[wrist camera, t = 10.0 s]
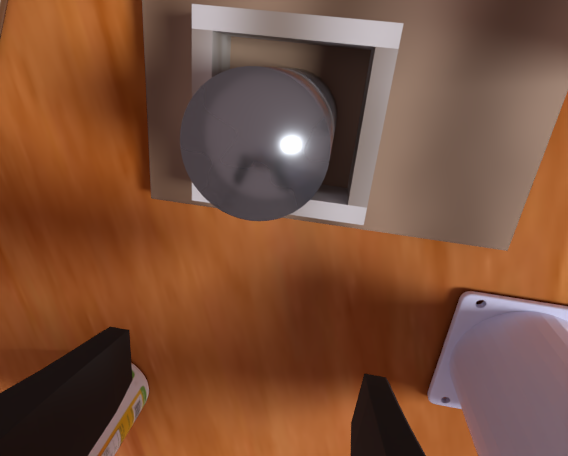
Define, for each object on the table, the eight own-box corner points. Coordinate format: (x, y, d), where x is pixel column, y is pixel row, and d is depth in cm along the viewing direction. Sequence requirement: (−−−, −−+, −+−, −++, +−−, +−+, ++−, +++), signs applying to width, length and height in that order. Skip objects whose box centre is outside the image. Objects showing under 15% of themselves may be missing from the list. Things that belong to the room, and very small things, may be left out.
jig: (650, -184, 13) (761, -277, 9) (498, 240, 19) (531, 276, 16) (147, -203, 14) (87, -286, 11) (161, 191, 21) (125, 214, 17)
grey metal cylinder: (343, 73, 16) (341, 74, 9) (330, 164, 18) (319, 230, 10) (252, 63, 16) (178, 57, 9) (247, 153, 18) (181, 210, 11)
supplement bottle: (67, 360, 27) (-68, 501, 18) (124, 342, 26) (8, 486, 17) (108, 414, 29) (2, 566, 20) (164, 399, 27) (77, 558, 18)
